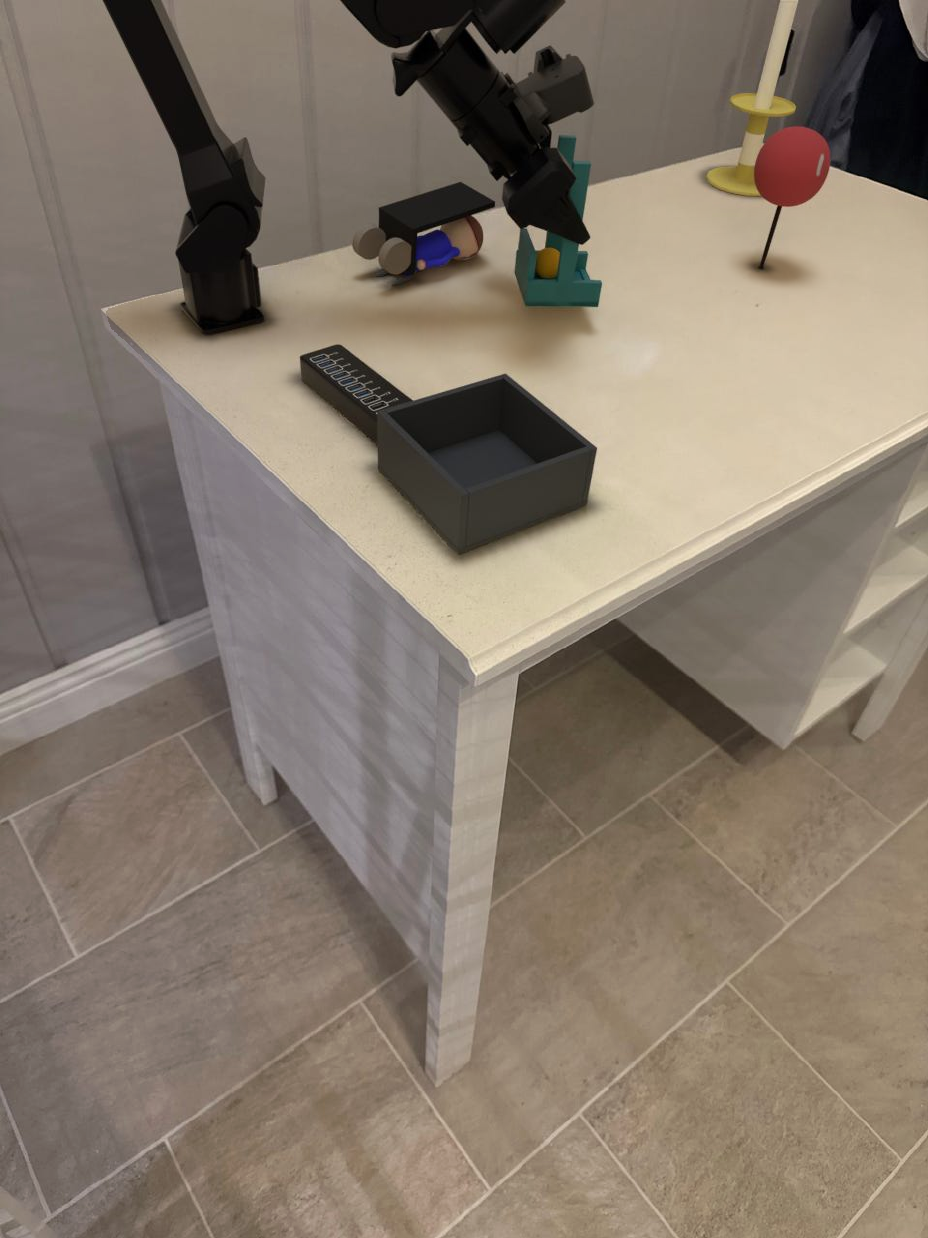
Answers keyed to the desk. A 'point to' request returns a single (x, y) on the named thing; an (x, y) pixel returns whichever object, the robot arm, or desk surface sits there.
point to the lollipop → (790, 170)
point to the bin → (484, 461)
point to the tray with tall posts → (571, 276)
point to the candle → (759, 110)
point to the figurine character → (419, 214)
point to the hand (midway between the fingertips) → (578, 224)
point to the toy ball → (547, 263)
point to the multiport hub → (350, 386)
